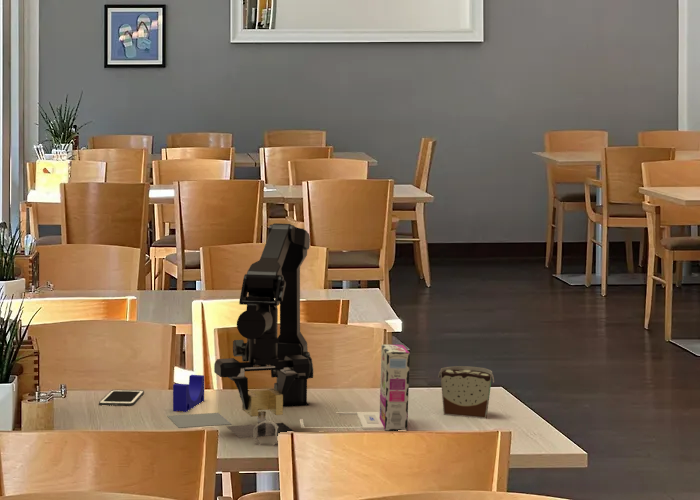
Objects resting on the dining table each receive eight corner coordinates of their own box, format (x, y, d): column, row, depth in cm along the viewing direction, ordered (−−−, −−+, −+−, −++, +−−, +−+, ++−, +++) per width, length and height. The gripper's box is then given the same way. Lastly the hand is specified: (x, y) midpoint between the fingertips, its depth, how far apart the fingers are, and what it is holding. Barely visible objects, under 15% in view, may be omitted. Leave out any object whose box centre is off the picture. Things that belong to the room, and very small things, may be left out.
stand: (282, 425, 260) (282, 405, 259) (297, 436, 250) (297, 415, 250) (226, 428, 256) (226, 408, 255) (239, 440, 246) (239, 419, 246)
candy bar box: (409, 432, 256) (410, 352, 254) (384, 432, 255) (386, 352, 254) (402, 419, 267) (403, 343, 265) (378, 419, 266) (380, 343, 265)
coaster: (218, 415, 268) (218, 412, 268) (231, 426, 257) (231, 423, 257) (167, 418, 264) (167, 415, 264) (178, 430, 254) (178, 427, 254)
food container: (498, 413, 274) (500, 368, 273) (492, 419, 269) (494, 373, 268) (444, 408, 278) (445, 364, 277) (437, 414, 273) (438, 368, 272)
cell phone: (97, 407, 276) (97, 402, 276) (111, 393, 290) (111, 389, 290) (132, 407, 276) (132, 403, 276) (144, 394, 290) (144, 390, 290)
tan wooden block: (273, 407, 256) (273, 388, 256) (282, 414, 250) (282, 394, 250) (242, 409, 254) (242, 390, 254) (251, 416, 248) (251, 396, 248)
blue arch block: (185, 400, 283) (185, 374, 283) (204, 401, 282) (204, 375, 282) (166, 411, 272) (166, 384, 271) (186, 413, 271) (186, 385, 270)
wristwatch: (277, 449, 240) (277, 423, 240) (252, 447, 241) (252, 422, 240) (280, 445, 243) (281, 420, 242) (255, 444, 244) (255, 418, 243)
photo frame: (388, 426, 257) (301, 426, 256) (388, 431, 257) (301, 432, 256) (381, 411, 272) (298, 411, 270) (381, 416, 272) (297, 416, 270)
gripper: (295, 323, 261) (294, 397, 263) (207, 327, 255) (207, 402, 256) (312, 332, 251) (311, 408, 252) (221, 335, 244) (221, 414, 246)
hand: (262, 408), depth 252 cm, fingers closed on tan wooden block, 6 cm apart
